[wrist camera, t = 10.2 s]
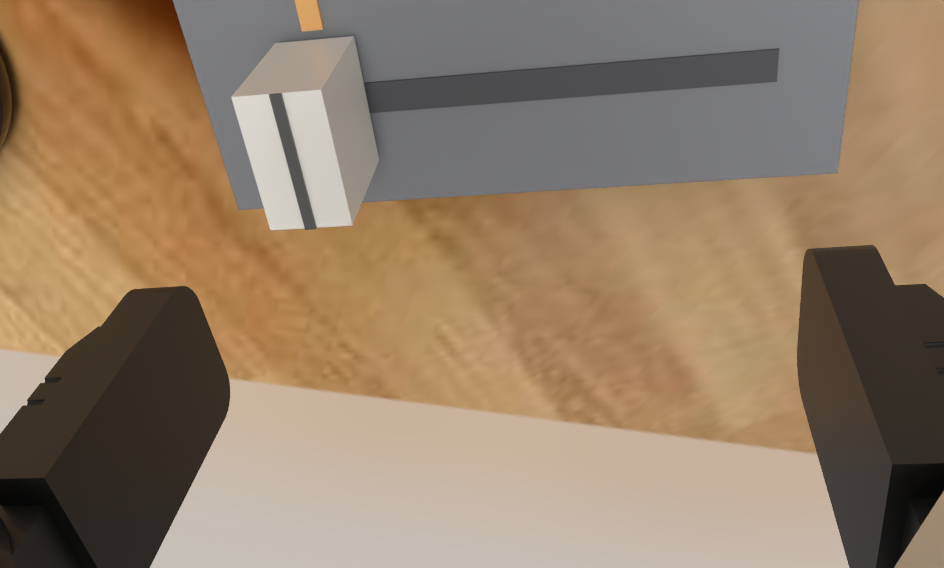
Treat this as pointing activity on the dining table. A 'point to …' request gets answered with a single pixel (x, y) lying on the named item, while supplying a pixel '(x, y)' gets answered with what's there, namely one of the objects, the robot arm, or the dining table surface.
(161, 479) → the robot arm
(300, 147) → the block
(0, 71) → the supplement container
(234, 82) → the slider board
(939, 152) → the dining table surface
